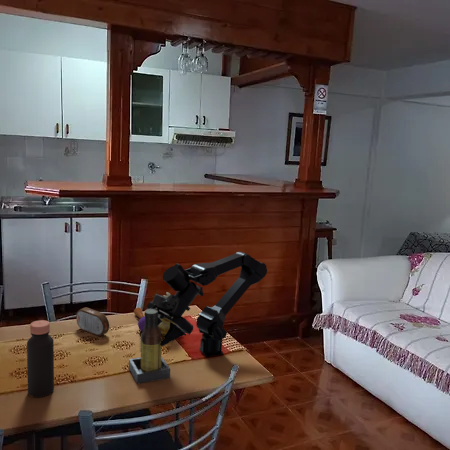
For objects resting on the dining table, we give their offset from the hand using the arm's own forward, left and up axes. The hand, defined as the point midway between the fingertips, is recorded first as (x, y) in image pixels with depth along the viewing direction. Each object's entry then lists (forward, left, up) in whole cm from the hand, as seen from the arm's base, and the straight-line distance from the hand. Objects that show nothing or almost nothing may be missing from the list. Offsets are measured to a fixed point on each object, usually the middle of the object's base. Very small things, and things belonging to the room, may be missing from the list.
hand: (152, 340), depth 142 cm
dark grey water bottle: (+32, 0, -11) cm, 34 cm away
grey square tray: (+1, 0, -10) cm, 11 cm away
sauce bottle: (+1, +1, -10) cm, 10 cm away
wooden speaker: (+12, -36, -11) cm, 39 cm away
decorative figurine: (-14, -26, -11) cm, 32 cm away
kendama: (-8, -38, -11) cm, 40 cm away
